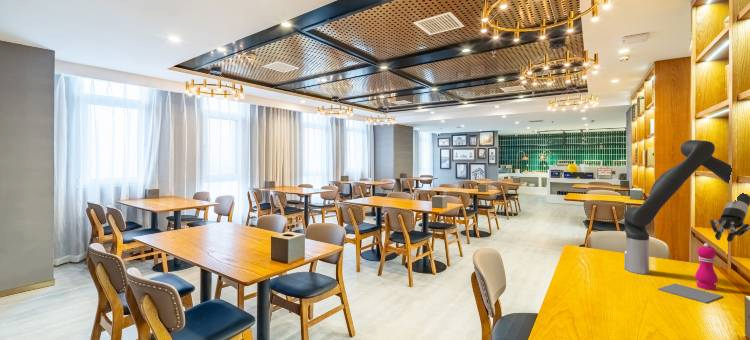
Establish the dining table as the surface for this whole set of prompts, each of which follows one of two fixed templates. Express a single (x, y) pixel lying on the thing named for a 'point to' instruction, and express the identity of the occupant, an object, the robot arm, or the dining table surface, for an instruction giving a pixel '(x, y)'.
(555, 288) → the dining table surface
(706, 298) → the charcoal mat
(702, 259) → the pepper mill
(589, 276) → the dining table surface
